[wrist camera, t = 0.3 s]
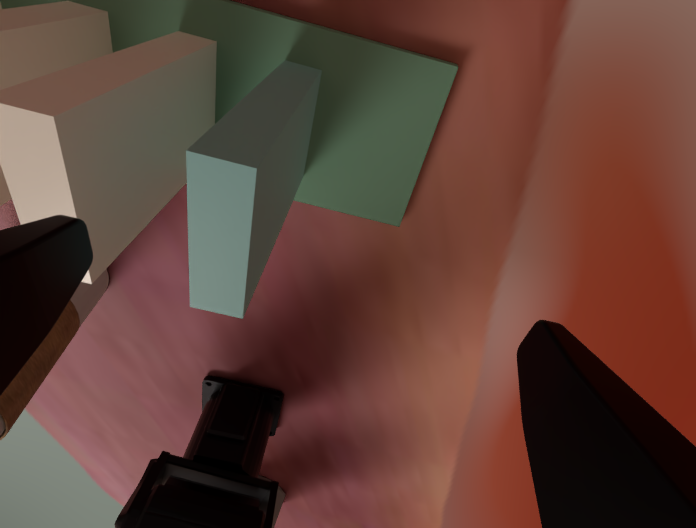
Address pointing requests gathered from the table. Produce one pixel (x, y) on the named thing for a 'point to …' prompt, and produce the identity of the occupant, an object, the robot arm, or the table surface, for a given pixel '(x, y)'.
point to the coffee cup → (49, 351)
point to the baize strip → (333, 95)
